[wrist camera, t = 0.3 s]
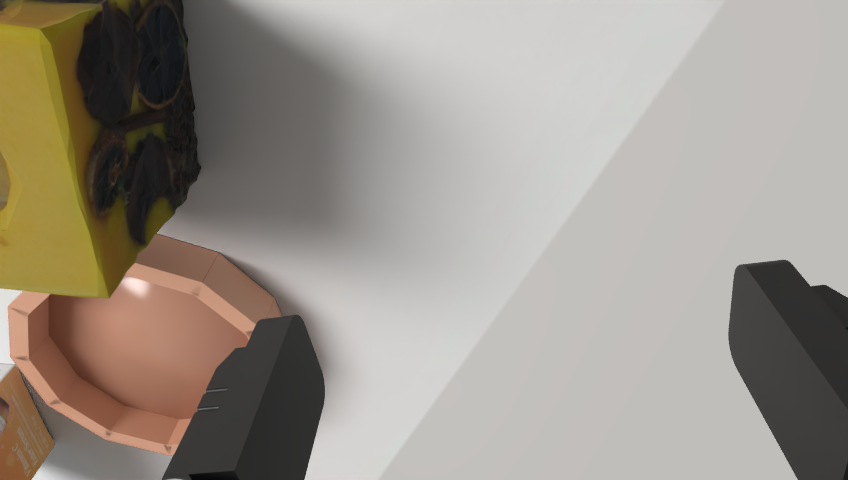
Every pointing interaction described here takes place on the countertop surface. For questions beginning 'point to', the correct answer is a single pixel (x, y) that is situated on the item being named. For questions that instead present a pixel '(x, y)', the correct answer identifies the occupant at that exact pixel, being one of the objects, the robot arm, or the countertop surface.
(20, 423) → the small box
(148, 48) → the yellow and black cube
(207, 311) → the round tray
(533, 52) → the countertop surface
